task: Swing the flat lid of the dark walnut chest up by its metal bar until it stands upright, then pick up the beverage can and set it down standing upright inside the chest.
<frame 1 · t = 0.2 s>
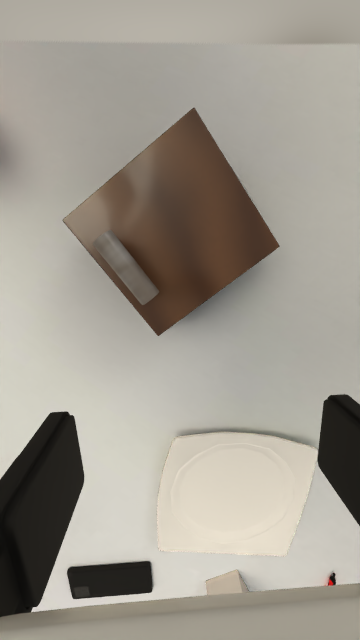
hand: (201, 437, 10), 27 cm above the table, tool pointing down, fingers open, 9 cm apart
plate: (230, 486, 44), on the table
soap dispenser: (221, 586, 51), on the table
lid: (174, 232, 22), point 12 cm above the table, hinge at 0.0°
smartphone: (111, 577, 49), on the table
pen: (323, 603, 53), on the table
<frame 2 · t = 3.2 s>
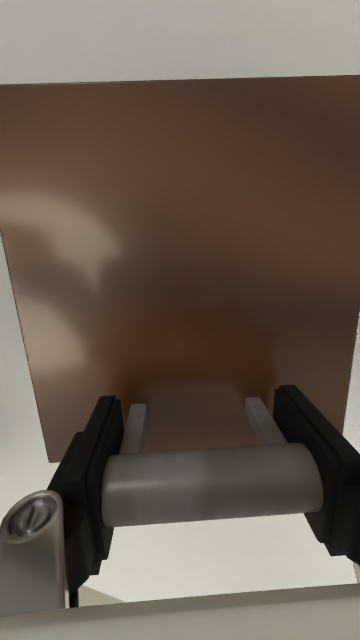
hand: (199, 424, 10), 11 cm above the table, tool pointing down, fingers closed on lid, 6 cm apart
lid: (198, 311, 8), point 12 cm above the table, hinge at 0.0°, touching gripper
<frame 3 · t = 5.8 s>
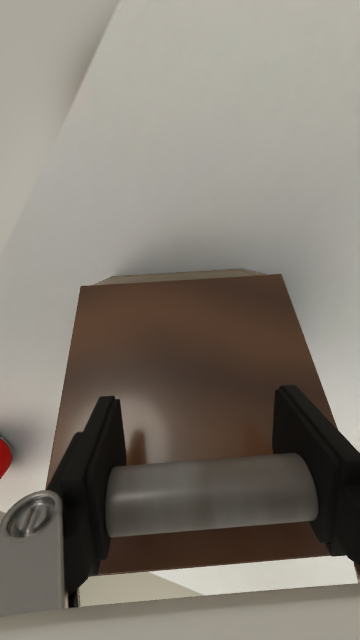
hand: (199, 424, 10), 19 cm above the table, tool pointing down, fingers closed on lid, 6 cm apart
lid: (192, 369, 12), point 16 cm above the table, hinge at 47.2°, touching gripper
chest: (181, 335, 29), on the table
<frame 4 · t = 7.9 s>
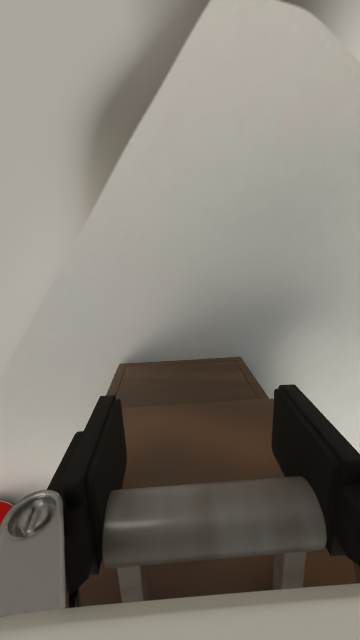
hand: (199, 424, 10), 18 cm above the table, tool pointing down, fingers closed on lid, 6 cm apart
lid: (195, 451, 13), point 17 cm above the table, hinge at 89.9°, touching gripper
beverage can: (2, 512, 34), on the table
chest: (182, 413, 31), on the table
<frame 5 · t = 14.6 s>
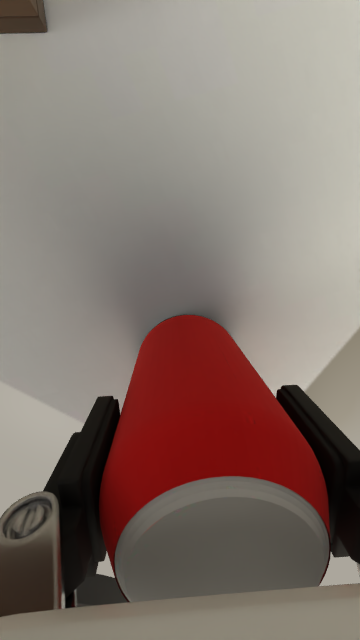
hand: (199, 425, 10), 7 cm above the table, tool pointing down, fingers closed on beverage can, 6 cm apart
beverage can: (187, 355, 17), on the table, touching gripper
when the fingers open (8 cm above the table, at t = 22.8 s): beverage can stays where it is, resting on chest.
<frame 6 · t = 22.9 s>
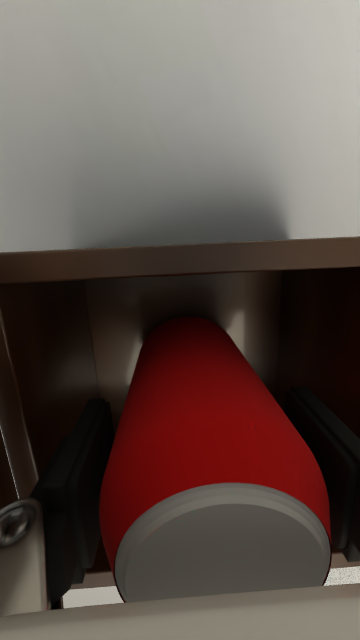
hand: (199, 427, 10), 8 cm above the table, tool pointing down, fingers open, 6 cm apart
beverage can: (187, 356, 17), point 1 cm above the table, touching chest
chest: (186, 351, 18), on the table
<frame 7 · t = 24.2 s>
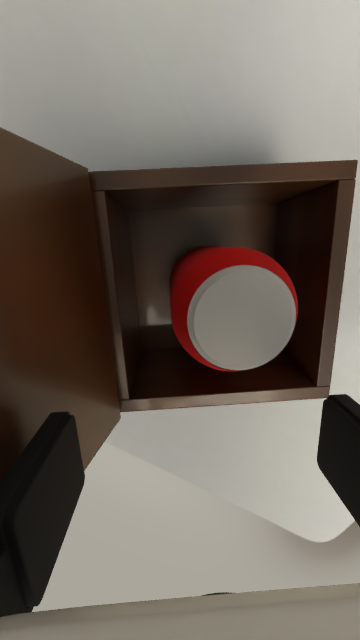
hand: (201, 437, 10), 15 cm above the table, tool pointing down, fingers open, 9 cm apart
beverage can: (204, 282, 23), point 1 cm above the table, touching chest
chest: (203, 280, 23), on the table
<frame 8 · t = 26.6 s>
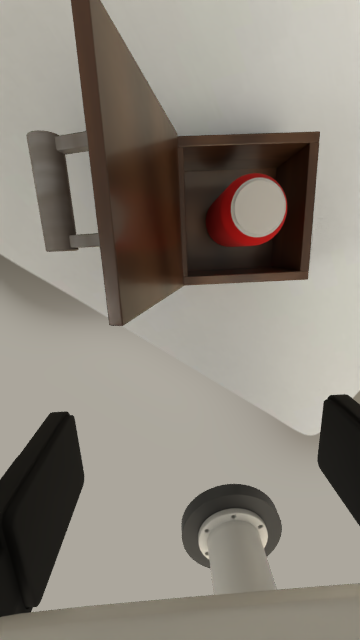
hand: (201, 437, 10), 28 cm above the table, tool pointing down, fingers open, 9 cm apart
lid: (121, 206, 19), point 16 cm above the table, hinge at 105.4°
beverage can: (227, 222, 34), point 1 cm above the table, touching chest
chest: (226, 222, 35), on the table
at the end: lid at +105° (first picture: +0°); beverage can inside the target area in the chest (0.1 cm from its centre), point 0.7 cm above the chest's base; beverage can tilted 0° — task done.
